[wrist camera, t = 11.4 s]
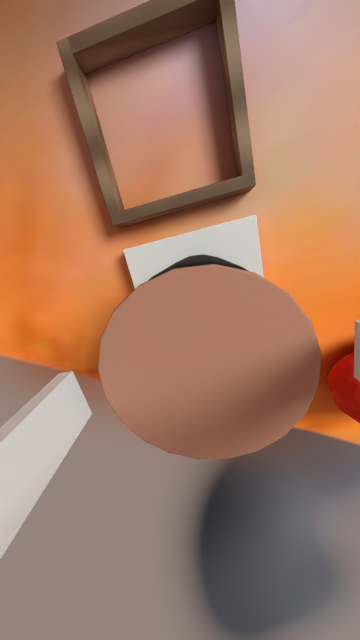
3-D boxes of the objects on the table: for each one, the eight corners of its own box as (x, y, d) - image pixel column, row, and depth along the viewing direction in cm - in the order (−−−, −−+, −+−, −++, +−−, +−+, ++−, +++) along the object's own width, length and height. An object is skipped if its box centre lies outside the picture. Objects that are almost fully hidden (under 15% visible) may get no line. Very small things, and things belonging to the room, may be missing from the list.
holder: (71, 64, 22) (56, 42, 20) (226, -2, 20) (230, -36, 18) (120, 227, 27) (112, 225, 25) (250, 190, 25) (255, 184, 22)
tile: (128, 249, 28) (123, 249, 26) (251, 217, 26) (255, 214, 24) (159, 356, 33) (157, 362, 31) (266, 336, 30) (271, 342, 28)
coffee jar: (172, 343, 30) (137, 471, 12) (148, 267, 26) (59, 301, 9) (250, 326, 28) (332, 447, 11) (233, 242, 25) (311, 228, 8)
